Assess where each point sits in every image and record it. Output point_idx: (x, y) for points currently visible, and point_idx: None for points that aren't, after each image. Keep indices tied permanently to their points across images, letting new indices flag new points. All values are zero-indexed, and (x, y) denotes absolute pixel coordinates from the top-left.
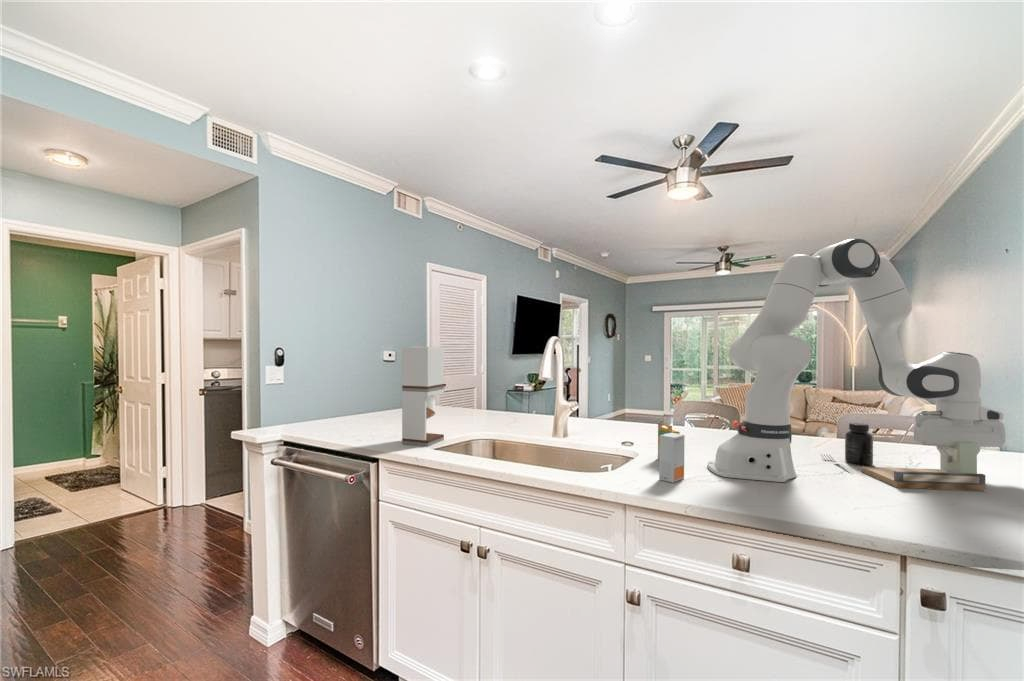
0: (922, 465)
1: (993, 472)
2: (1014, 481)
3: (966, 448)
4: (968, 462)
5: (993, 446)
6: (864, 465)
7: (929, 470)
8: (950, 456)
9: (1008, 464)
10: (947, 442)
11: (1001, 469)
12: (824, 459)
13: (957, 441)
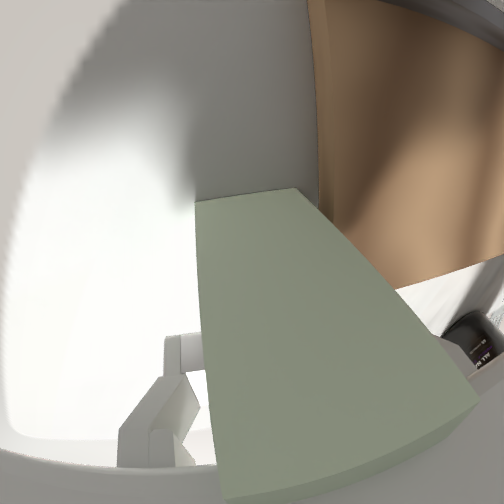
0: None
1: (54, 379)
2: (10, 265)
3: (368, 372)
4: (280, 256)
5: (13, 455)
6: (472, 312)
7: (403, 259)
8: None
9: (21, 433)
10: (498, 391)
11: (32, 405)
12: (498, 327)
13: (428, 454)
